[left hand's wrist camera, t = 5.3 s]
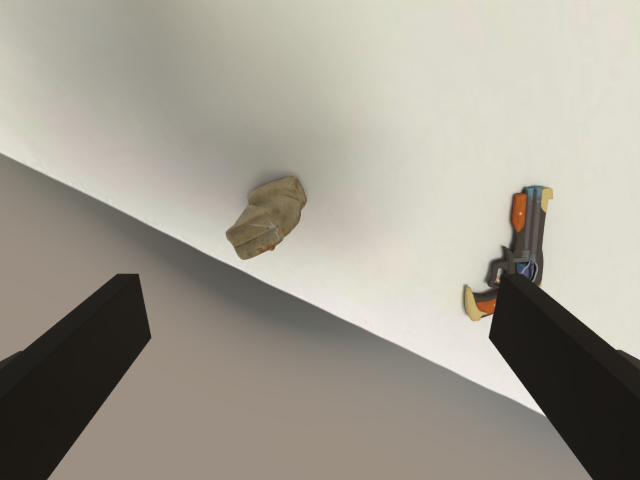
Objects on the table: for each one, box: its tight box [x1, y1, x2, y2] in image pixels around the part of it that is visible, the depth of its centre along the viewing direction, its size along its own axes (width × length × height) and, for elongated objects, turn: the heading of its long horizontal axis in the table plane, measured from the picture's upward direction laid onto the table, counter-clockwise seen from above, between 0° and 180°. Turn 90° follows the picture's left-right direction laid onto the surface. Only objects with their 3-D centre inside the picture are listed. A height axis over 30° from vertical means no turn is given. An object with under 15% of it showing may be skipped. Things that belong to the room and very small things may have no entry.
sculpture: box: [226, 176, 307, 260], centre depth 39 cm, size 6×7×15 cm
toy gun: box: [465, 186, 553, 321], centre depth 48 cm, size 3×19×10 cm
